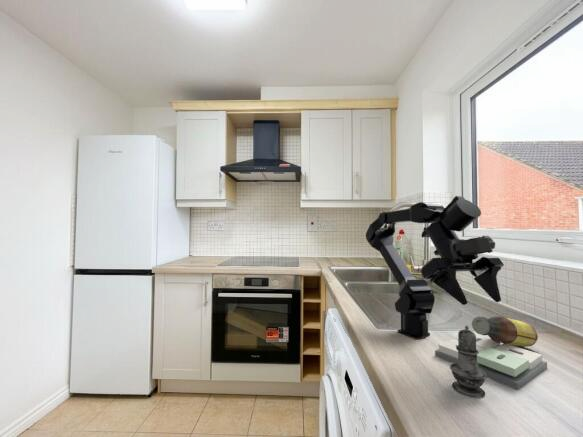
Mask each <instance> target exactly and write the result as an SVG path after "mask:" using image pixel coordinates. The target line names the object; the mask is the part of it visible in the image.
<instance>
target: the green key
mask: <svg viewBox="0 0 583 437" xmlns="http://www.w3.org/2000/svg"><path fill="white" fill-rule="evenodd" d="M477 363H480V364H482V365H485V367H486V368H489V369H491V370H494V371H496V372H499V373H502V374H504V375H507V376H509V377H512V376H514V377H516V376H517V375H519V374H520V373H522V372H523V371H524V370H526V369H527V368H529V360H527V359H524V358H521V357H518V356H515V355H512V354H509V353H506V352H503V351H500V350H496V349H493V348H490V347H489V348H487V349H485V350H483V351H481V352H479V354H477Z"/></svg>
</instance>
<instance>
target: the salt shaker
mask: <svg viewBox="0 0 583 437" xmlns="http://www.w3.org/2000/svg"><path fill="white" fill-rule="evenodd" d="M469 329H470V327H469V326H468V325H465V327H464V329H461V330H459V331H458V335H457V337H458V346H457V347H456V349H457V350H458V362H457V363H451V364H449V368H450V370H451V373H452V376H453V378H454V379H455V381H453V382H452V383H451V387H452V388H453V390H454V391H455V392H457V393H458V394H461V395H462V396H465V397H466V398H467V397H468V398H470V399H471V398H473V399H482V398H485V396H486V392H485V390H484V389H483V388H482V386H483V385H484V383H485V381H486V378H488V377H487V374H486V373H485V372H484V371H483V370H482V369H480V368H478V364H477V354H479V352H478V350H476V335H477V334H475V332H473V331H472V330H471V329H470V330H469Z"/></svg>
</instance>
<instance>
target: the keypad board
mask: <svg viewBox="0 0 583 437" xmlns="http://www.w3.org/2000/svg"><path fill="white" fill-rule="evenodd" d="M475 335H476V350H478V352H481V351H483V350H485V349H487V348H489V347H490V348H493V349H496V350H500V351H503V352H506V353H509V354H512V355H515V356H518V357H521V358H524V359H527V360H529V368H527V369H526V370H524V371H523V372H522V373H520V374H519V375H517V376H516V377H514V376H512V377H509V376H507V375H504V374H502V373H499V372H496V371H494V370H491V369H489V368H486V367H485V365H482V364H480V363H477V364H478V368H480V369H482V370H483V371H484V372H485V373H486V374H487V377H486V378H488V379H490V380H493V381H496V382H497V383H500V384H503V385H504V386H508V387H510V388H512V389H515V390H521V388H523V387H524V386H525V385H527V384H528V383H529V382H530V381H532V380H533V379H534V378H536V377H537V376H538V375H539V374H541V373H542V372H544V370H546V369H547V368H548V361H545V360H543V354H540V353H537V352H534V351H530V350H527V349H525V348H521V347H519V346H516V345H511V344H505V343H500V342H496V341H493V340H492V339H491V338H490V337H489V338H488V337H486V336H485V337H484V336H483V335H480V334H475ZM457 346H458V336H457V337H455V338H452V339H449V340H447V341H444V342H442V343H440V344H438V349H436V350H434V356H435V357H437V358H440V359H443V360H444V361H447V362H449V363H451V364H452V363H457V362H458V350H457V349H456V347H457Z"/></svg>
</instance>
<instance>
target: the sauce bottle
mask: <svg viewBox="0 0 583 437" xmlns="http://www.w3.org/2000/svg"><path fill="white" fill-rule="evenodd" d="M471 326H472V329H473V331H474V333H477V335H480V336H488V337H489V339H492V340H493V341H496V342H500V344H504V343H505V344H508V345H512V346H515V347H522V348H523V347H525V348H526V347H527V348H528V347H532V346H534V345H536V343H537V341H538V339H539V338H538V337H539V335H538V333H537V331H536V328H534V327H533V326H532V325H530V324H529V323H527V322H525V321H522V320H518V319H512V318H508V317H505V316H492V317H489V318H487V317H484V316H476V317H474V318H473V319H472V321H471Z"/></svg>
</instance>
